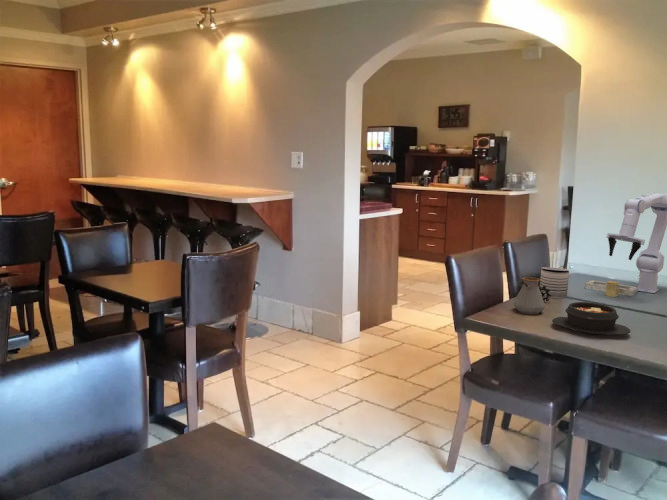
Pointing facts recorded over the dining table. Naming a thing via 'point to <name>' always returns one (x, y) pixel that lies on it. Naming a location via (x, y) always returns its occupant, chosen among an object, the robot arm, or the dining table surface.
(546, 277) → the striped ceramic pot
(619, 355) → the dining table surface
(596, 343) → the dining table surface
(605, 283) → the rail
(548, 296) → the black upright ornate piece
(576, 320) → the casserole
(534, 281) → the coffee pot
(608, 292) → the brass block
